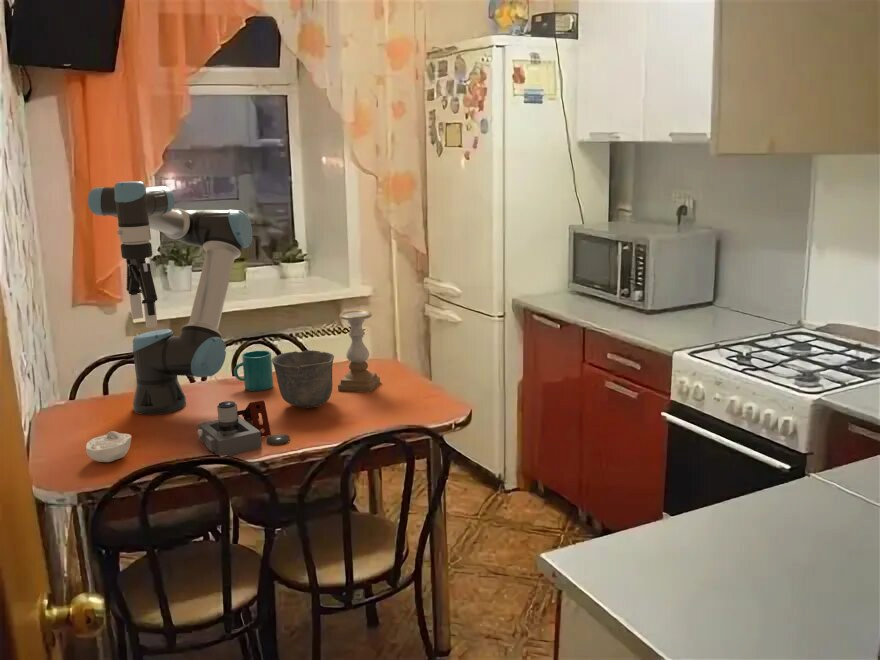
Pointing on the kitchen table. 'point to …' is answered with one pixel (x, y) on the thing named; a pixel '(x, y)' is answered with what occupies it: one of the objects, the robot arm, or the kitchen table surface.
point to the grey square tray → (230, 438)
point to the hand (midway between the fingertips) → (144, 322)
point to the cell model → (108, 446)
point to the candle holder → (357, 356)
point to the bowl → (304, 377)
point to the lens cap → (278, 439)
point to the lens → (228, 418)
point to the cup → (256, 370)
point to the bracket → (257, 416)
